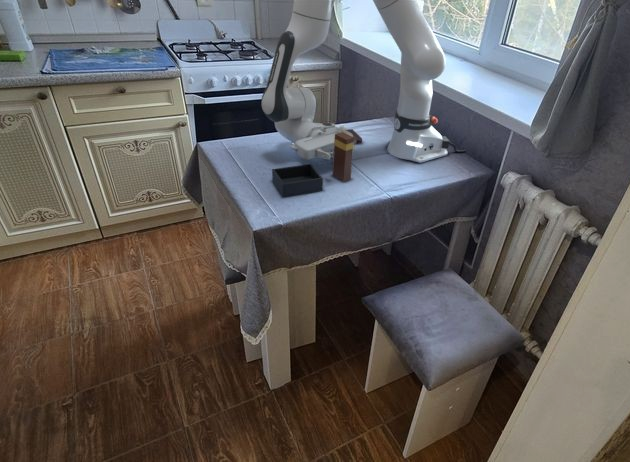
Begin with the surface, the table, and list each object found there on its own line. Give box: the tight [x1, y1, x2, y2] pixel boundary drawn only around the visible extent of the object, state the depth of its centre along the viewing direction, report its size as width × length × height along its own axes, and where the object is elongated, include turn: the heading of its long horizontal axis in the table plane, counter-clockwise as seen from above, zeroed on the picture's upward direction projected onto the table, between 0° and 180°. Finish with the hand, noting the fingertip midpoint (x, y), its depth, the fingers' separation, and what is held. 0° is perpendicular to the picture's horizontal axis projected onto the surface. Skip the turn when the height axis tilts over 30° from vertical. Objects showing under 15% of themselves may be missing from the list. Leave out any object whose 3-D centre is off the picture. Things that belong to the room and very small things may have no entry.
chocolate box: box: [332, 132, 355, 183], centre depth 132 cm, size 3×5×14 cm, turn 47°
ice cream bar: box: [339, 125, 363, 145], centre depth 163 cm, size 5×2×15 cm
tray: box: [271, 163, 324, 198], centre depth 128 cm, size 12×10×4 cm
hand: (342, 153), depth 132 cm, fingers open, 8 cm apart
